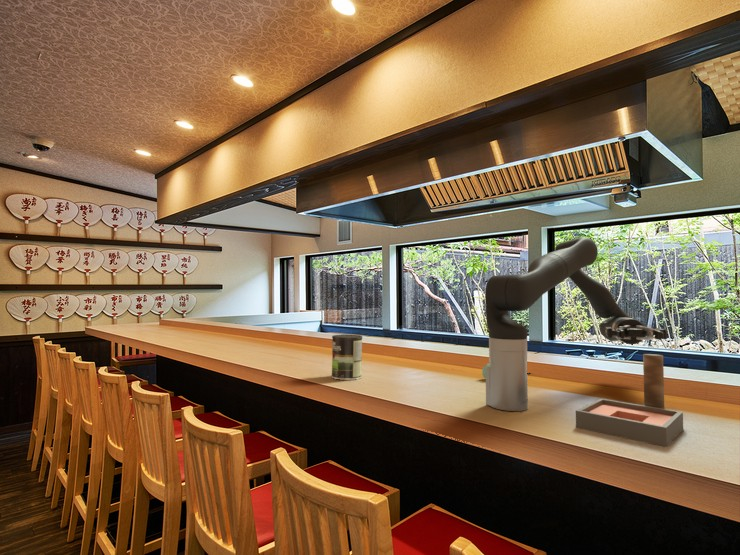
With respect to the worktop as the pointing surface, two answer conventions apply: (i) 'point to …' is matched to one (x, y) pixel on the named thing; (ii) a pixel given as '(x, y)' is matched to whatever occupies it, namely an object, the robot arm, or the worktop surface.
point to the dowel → (653, 380)
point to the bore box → (631, 421)
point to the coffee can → (346, 357)
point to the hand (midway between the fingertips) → (641, 335)
